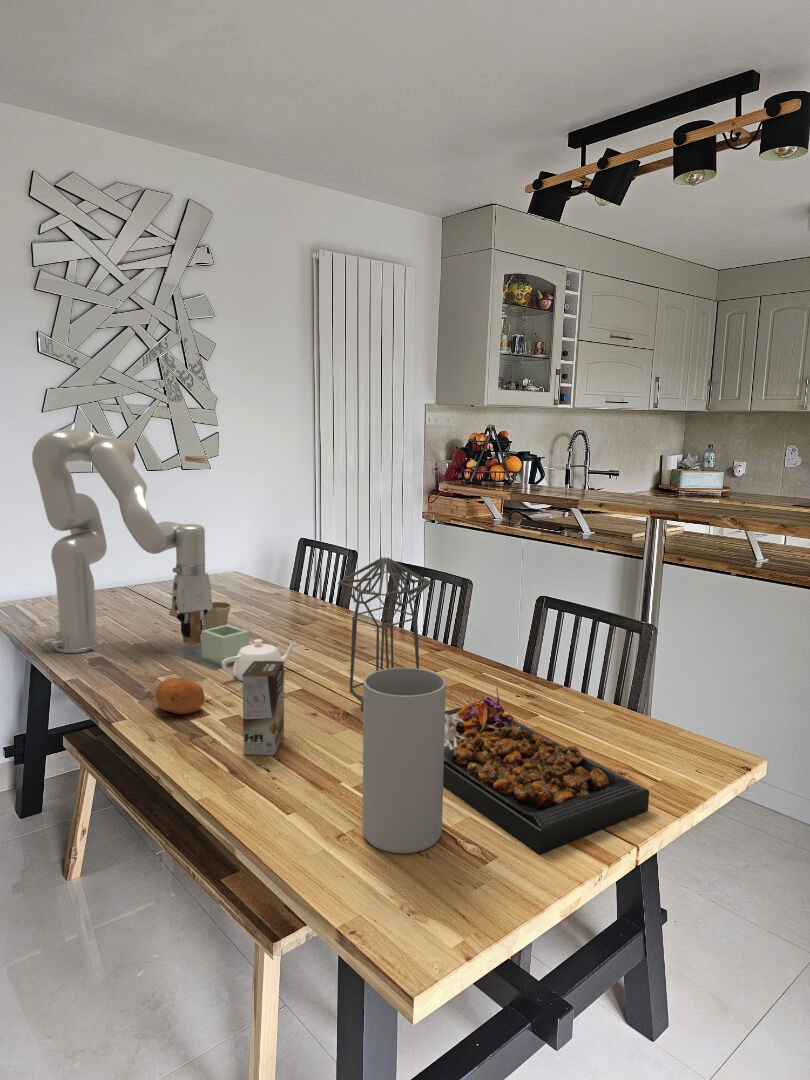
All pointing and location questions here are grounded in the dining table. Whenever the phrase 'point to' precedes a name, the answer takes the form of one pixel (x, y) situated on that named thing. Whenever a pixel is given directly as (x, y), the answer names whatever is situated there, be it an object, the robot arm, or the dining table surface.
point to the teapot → (254, 657)
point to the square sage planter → (223, 643)
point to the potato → (179, 695)
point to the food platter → (531, 779)
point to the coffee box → (263, 707)
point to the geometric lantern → (399, 574)
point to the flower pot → (217, 615)
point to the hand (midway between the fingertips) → (191, 634)
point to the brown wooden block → (194, 628)
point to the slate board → (193, 654)
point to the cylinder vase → (403, 758)
